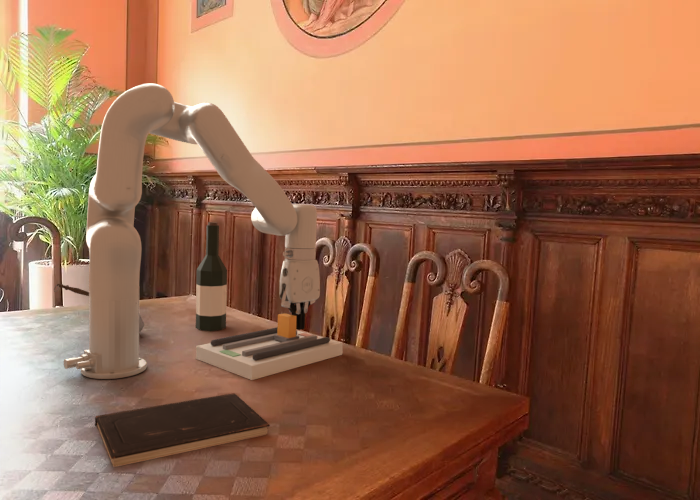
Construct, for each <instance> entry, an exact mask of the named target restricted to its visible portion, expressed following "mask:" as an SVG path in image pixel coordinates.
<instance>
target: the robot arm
mask: <svg viewBox="0 0 700 500" xmlns="http://www.w3.org/2000/svg"><path fill="white" fill-rule="evenodd" d="M149 134H151V135H155V136H158V137H163V138H167V139H170V140H173V141H178V142H181V143H186V144H191V145H198V147H199V148H200V149H201V151H202V152H203V154H204V155H205V157H206V158H207V159H208V160H209V162H210V163H211V165H212V166H213V168H214V170H215V171H216V172H217V174H218V175H219V176H220V178H221V179H222V180H223V181H224V182H225V183H227V184H228V185H229V186H231V187H233V188H234V189H235V190H237V191H239V192H240V193H241V194H242V195H243V196H245V197H246V198H247V199H248V200H249V201H250V202H251V204H252V205H253V206H254V209H253V210H252V211H251V214H250V215H251V216H250V219H251V223H252V226H253V227H254V228H255V229H256V230H257V231H259V232H260V233H263V234H267V235H275V236H285V237H284V251H283V252H282V256H283V257H284V260H283V261H282V266H281V270H280V276H279V288H278V289H279V293H278V294H279V296H278V297H279V299H280V300H281V303H280V306H281V307H283V308H287V309H288V311H289V313H291V315H294V316H297V317H296V330H297V331H302V330H305V327H306V326H305V325H306V313H308V310H309V307H310V305H313V304H314V303H316V300H318V299H319V298H320V295H321V294H320V293H321V283H320V282H321V281H320V280H321V277H320V276H321V275H320V268H319V267H320V266H319V263H318V260H317V259H316V247H317V225H318V224H317V220H318V219H317V218H318V211H317V207H316V206H315V205H312V204H303V203H299V204H298V203H296V204H295V203H292V202H291V200H290V198H289V197H288V195H287V194H286V193H285V191H284V189H283V188H282V187H281V185H280V184H279V183H278V182H277V180H275V178H274V177H273V176H272V175H271V174H270V173H269V172H268V171H267V170H266V169H265V167H263V166H262V164H260V163H259V162H258V160H256V158H254V157H253V155H252V153H251V152H250V151H249V149H248V148H247V146H246V145H245V143H244V141H242V139H241V137H240V136H239V134H238V133H237V131H236V130H235V128H234V126H233V125H232V124H231V122H230V121H229V119H228V118H227V116H226V115H225V113H224V112H223V111H222V110H221V108H219V107H218V106H217V105H216V104H214V103H211V102H201V103H198V104H195V105H192V106H191V105H187V104H183V103H180V102H176V101H175V100H174V97H173V94H172V93H171V92H170V91H169V90H168V89H167V88H166V87H165V86H163V85H161V84H157V83H152V82H151V83H149V82H148V83H142V84H139V85H136V86H134V87H131V88H130V89H127V90H125V91H124V92H122V93H121V94H119V96H118V97H116V99H114V101H113V102H112V103H111V105H110V106H109V108H108V109H107V110H106V113H105V115H104V118H103V121H102V124H101V129H100V135H99V143H98V151H97V163H96V164H97V165H96V172H95V174H94V176H93V177H92V179H91V181H90V184H89V188H88V200H87V201H88V203H87V216H86V232H85V233H86V235H85V238H86V239H85V240H86V245H87V247H88V251H89V265H88V267H89V272H88V292H89V296H88V299H89V300H88V301H89V303H88V304H89V305H88V307H89V308H88V309H89V311H88V315H89V316H88V317H89V319H88V322H89V323H88V336H89V337H88V338H89V340H88V343H89V346H88V349H84V350H83V351H84V352H83V354H81V355H80V356H77V357H70V358H65V359H63V367H64V369H66V370H68V369H72V368H76V369H77V370H80V373H81V375H83V376H84V377H86V378H91V379H98V380H111V379H112V380H114V379H123V378H128V377H132V376H136V375H138V374H141V373H142V372H144V371H145V370H146V369H147V367H148V366H147V365H148V364H147V361H146V360H145V359H144V358H141V357H140V332H139V313H140V273H141V263H142V262H141V261H142V251H143V250H142V241H141V235H140V234H139V232H138V231H137V229H136V228H135V227H134V226H135V225H134V223H135V222H134V221H135V209H136V206H137V205H138V204H139V202H140V201H141V199H142V195H143V168H144V167H143V165H144V156H145V146H146V141H147V138H148V136H149Z"/></svg>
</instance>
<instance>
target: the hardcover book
mask: <svg viewBox="0 0 700 500" xmlns="http://www.w3.org/2000/svg"><path fill="white" fill-rule="evenodd" d="M94 426H97V429H98V431H99V434H100V436H101V439H102V441H103V444H104V447H105V449H106V452H107V455H108V456H109V460H110V461H111V465H112V467H113V468H116V467H120V466H121V467H122V466H125V465H129V464H130V465H131V464H135V463H139V462H144V461H148V460H153V459H159V458H162V457H168V456H172V455H178V454H181V453H186V452H190V451H196V450H200V449H204V448H211V447H213V446H214V447H215V446H219V445H224V444H228V443H233V442H237V441H242V440H248V439H252V438H258V437H261V436H266V435H268V431H269V430H268V427H270V426H271V424H270V423H269V422H267V421H266V420H265V419H264V418H263V417H262V416H261V415H259V414H258V412H256V411H255V410H254V409H253V408H252V407H251V406H249V405H248V404H247V403H246V402H245V401H244V400H243V399H241V398H240V397H239V396H238V395H237V393H235V392H233V393H232V392H231V393H226V394H221V395H214V396H208V397H203V398H201V397H200V398H196V399H190V400H185V401H184V400H183V401H178V402H172V403H166V404H161V405H160V404H159V405H155V406H153V405H152V406H148V407H142V408H135V409H130V410H123V411H117V412H111V413H105V414H98V415H95V418H94Z"/></svg>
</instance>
